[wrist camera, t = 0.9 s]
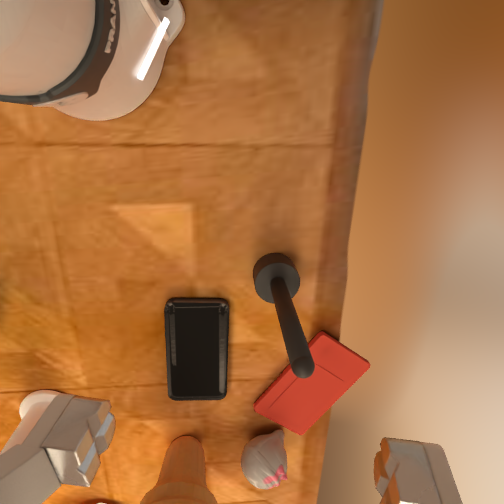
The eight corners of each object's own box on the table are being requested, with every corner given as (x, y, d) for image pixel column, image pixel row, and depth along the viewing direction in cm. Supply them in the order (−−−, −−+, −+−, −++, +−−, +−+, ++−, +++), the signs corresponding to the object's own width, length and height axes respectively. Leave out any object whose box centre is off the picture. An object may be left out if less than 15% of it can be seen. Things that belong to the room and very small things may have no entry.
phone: (229, 302, 43) (226, 400, 48) (229, 298, 44) (226, 394, 49) (162, 302, 42) (167, 400, 47) (164, 297, 43) (168, 394, 48)
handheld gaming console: (300, 430, 52) (369, 361, 49) (301, 437, 51) (372, 366, 48) (251, 404, 50) (320, 329, 46) (252, 410, 49) (322, 334, 45)
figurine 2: (260, 488, 43) (301, 437, 47) (225, 453, 48) (265, 408, 52) (273, 511, 47) (310, 461, 51) (240, 475, 52) (276, 432, 56)
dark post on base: (248, 258, 42) (263, 354, 25) (291, 248, 42) (334, 337, 25) (258, 296, 44) (278, 408, 27) (298, 286, 44) (344, 392, 27)
